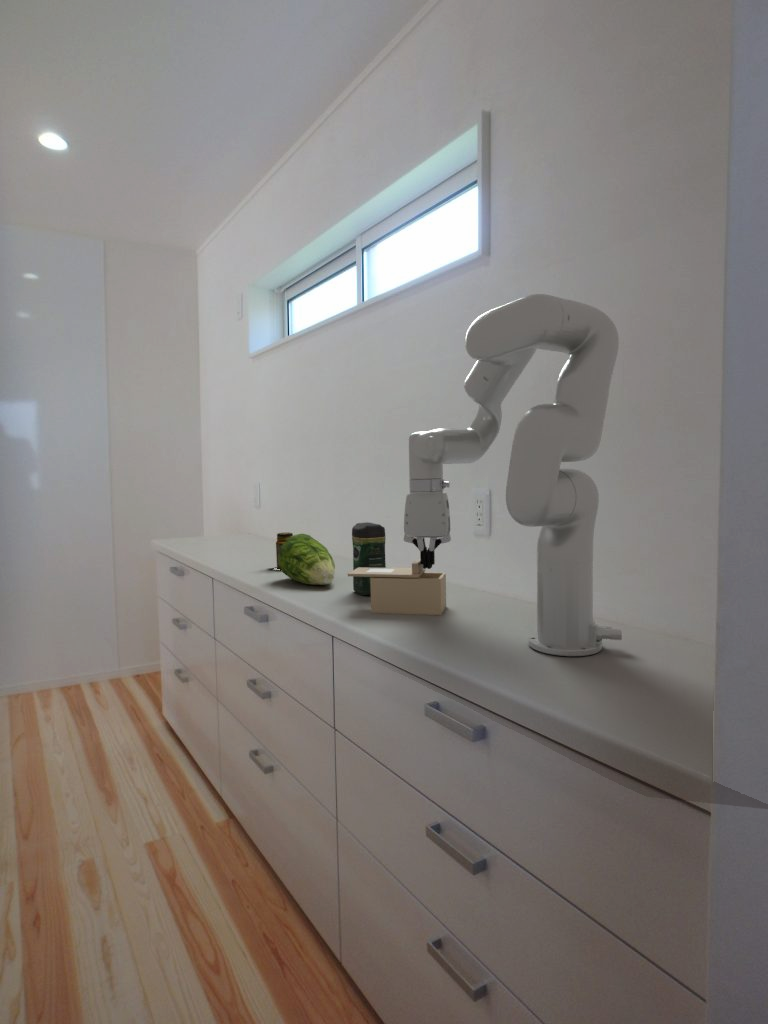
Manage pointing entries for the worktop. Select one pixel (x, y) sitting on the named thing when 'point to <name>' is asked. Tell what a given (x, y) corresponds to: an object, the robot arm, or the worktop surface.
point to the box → (409, 594)
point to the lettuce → (306, 560)
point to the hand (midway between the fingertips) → (427, 567)
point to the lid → (390, 571)
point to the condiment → (280, 541)
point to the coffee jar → (367, 552)
